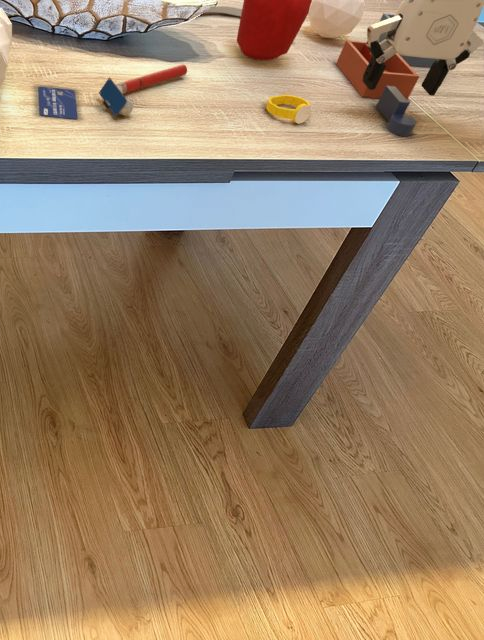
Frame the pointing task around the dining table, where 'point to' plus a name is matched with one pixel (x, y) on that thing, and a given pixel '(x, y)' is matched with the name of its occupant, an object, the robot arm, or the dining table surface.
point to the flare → (152, 78)
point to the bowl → (4, 43)
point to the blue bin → (410, 60)
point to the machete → (226, 10)
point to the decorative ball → (335, 16)
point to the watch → (296, 114)
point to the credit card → (57, 103)
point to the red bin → (395, 75)
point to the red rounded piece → (270, 26)
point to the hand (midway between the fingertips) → (397, 88)
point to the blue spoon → (396, 111)
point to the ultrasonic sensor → (115, 99)
